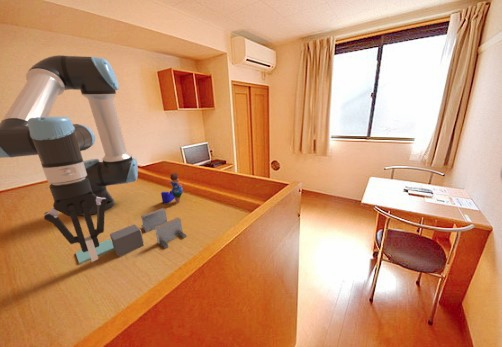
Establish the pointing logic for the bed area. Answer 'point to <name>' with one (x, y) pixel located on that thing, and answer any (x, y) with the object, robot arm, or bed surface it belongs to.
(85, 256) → the mat
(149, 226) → the channel
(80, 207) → the robot arm
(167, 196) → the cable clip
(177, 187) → the toy character
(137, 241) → the grey rectangular block
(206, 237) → the bed surface
